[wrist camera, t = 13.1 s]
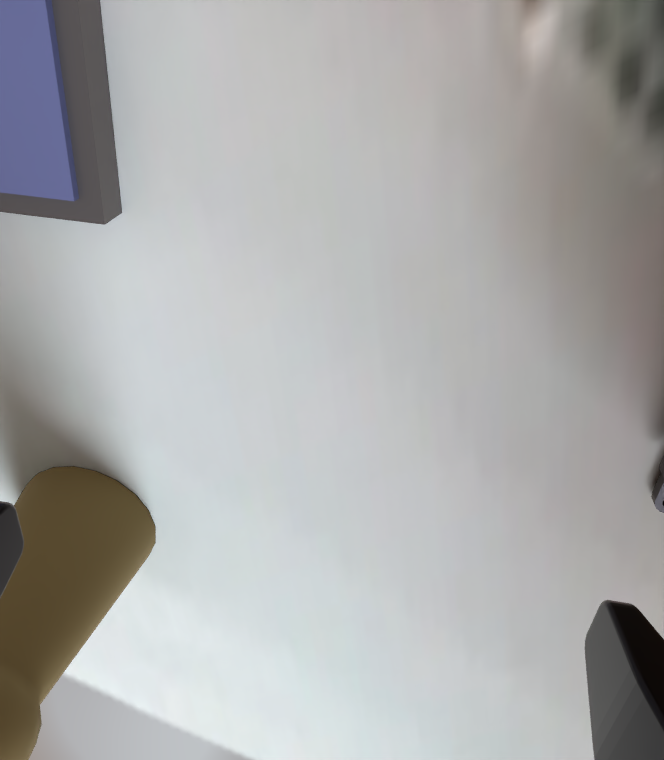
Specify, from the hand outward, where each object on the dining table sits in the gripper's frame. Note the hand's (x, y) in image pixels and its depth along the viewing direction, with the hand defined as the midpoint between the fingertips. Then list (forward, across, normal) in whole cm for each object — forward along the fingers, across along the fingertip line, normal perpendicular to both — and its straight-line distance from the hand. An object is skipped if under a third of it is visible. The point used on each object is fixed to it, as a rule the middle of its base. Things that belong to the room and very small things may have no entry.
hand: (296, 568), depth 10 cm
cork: (+12, +11, +13) cm, 21 cm away
